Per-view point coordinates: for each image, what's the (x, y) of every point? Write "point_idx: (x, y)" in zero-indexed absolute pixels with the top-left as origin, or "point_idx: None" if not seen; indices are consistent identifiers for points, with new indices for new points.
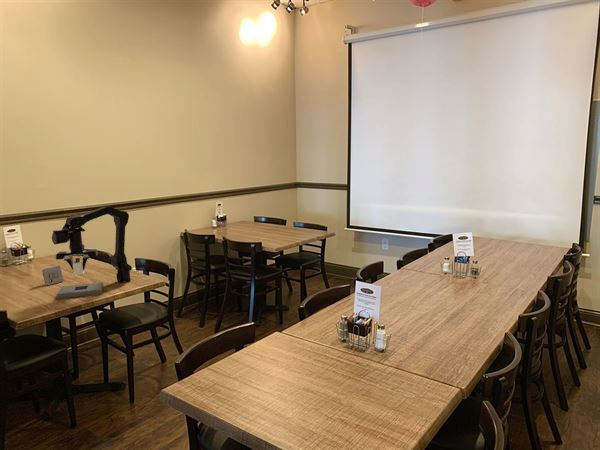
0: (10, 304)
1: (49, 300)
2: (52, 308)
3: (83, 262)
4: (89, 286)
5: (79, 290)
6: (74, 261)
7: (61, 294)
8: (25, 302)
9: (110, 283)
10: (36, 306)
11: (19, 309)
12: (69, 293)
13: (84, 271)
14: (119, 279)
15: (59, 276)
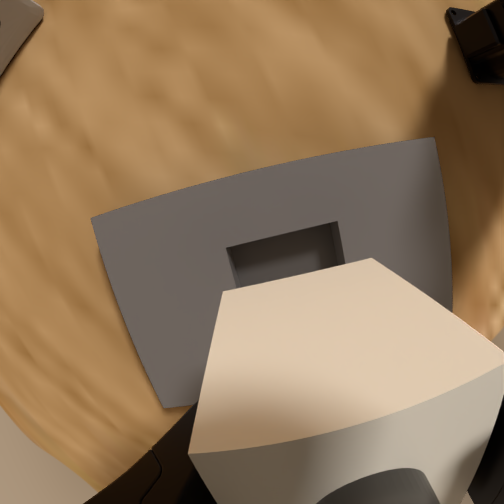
0: (3, 397)
1: (134, 399)
2: None
3: (485, 497)
4: (358, 253)
5: None
6: (211, 466)
7: (191, 401)
8: (36, 393)
9: (430, 73)
10: (129, 457)
11: (84, 464)
12: None
13: (374, 265)
14: (484, 60)
15: (7, 14)
